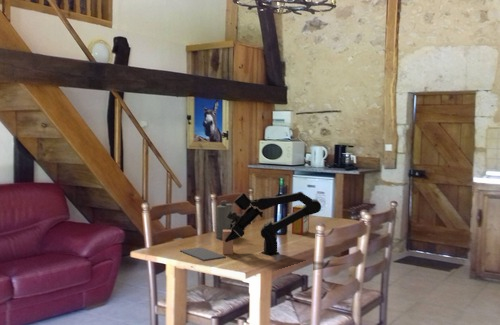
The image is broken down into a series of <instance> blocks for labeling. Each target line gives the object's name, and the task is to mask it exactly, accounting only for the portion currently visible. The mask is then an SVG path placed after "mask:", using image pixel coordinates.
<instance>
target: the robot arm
mask: <svg viewBox="0 0 500 325" xmlns="http://www.w3.org/2000/svg"><path fill="white" fill-rule="evenodd" d="M293 202H301V203H302V204H303V205H305V206H304V207H303V208H301V209H300V210H298V211H296V212H294V213H290V214H288V215H287V216H284V217H283V218H281V219H279V220H277V221H276V222H272V220H269V221H268V222H267V223H264V224H263V226H262V227H261V228H260V235H261V237H262V239H263V241H264V242H263V251H261V253H262V254H265V255H266V256H267V255H268V256H273V255H279V254H280V252H278V241H277V240H278V236H277V233H278V232H279V231H280V230H282V229H284V228H285V227H288V226H289V225H292V223H293V222H295V221H297V220H299V219H301V218H302V217H304V216H307V215H309V216H311V215H314V214H315V215H316V214H317V213H319V212H321V210H322V205H321V203H320V201H319V200H317V199H313V198H311V197H310V196H307V195H306V194H304V192H302V191H298V192H294V193H289V194H282V195H279V196H278V195H276V196H259V198H257V199H250V197H248V196H247V194H246V193H245V192H242V194H241V195H240V196H238V197H237V198H236V199H235V200H234V201H233V203H234V204H235V205H236V206H237V207H238V208H239V209H240V210H241V211H245V212H243V213H240V214H238V213H237V212H235V211H233V210H232V211H229V212H228V214H227V218H229V219H232V221H231V222H230V228H229V230H231V233H230V234H229V235H228V237H227V238H226V239H225V242H228V241H231V240H233V241H234V240H236V239H239V238H243V236H244V235H245V230H246V228H247V227H248V226H250V225H251V224H252V222H253V221H255V220H256V219H257V217H258V216H259V217H261V218H263V216H264V215H263V214H264V210H267V209H269V208H272V207H274V206H277V205H283V204H289V203H293Z"/></svg>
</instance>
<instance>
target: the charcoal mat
mask: <svg viewBox="0 0 500 325" xmlns="http://www.w3.org/2000/svg"><path fill="white" fill-rule="evenodd" d="M179 252H180V253H183V254H185V255H187V256H191V257H192V258H195V259H198V260H200V261H203V262H205V261H212V260H213V261H214V260H218V259H224V258H226V255H225V254H221V253H218V252H215V251H212V250H210V249H207V248H205V247H202V246H201V247H193V248H186V249H180V250H179Z"/></svg>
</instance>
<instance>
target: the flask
mask: <svg viewBox="0 0 500 325" xmlns="http://www.w3.org/2000/svg"><path fill="white" fill-rule="evenodd" d="M219 203H220V204H219V205H217V206H216V217H215V218H216V222H215V224H216V225H215V226H216V228H215V229H216V230H215V237H216V239H218V240H223V230H229V228H230V222H231V221H232V219H229V218H227V214H228V212H229V211H232V212H233V210H234V209H233V203H228V201H227V200H220V202H219Z"/></svg>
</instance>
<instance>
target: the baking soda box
mask: <svg viewBox="0 0 500 325" xmlns="http://www.w3.org/2000/svg"><path fill="white" fill-rule="evenodd" d="M304 206H305V204H303V205H302V204H298V205H297V204H296V205H294V206H292V209H291V210H292V211H291V212H292V213H294V212H296V211H298V210H300V209H301V208H303V207H304ZM292 213H291V214H292ZM309 228H310V215H307V216H304V217H302V218H301V219H299V220H297V221H295V222H293V223H291V234H292V235H293V234H294V235H299V234H300V235H301V236H303V235H305V234H308V233H309ZM307 232H308V233H307Z"/></svg>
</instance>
